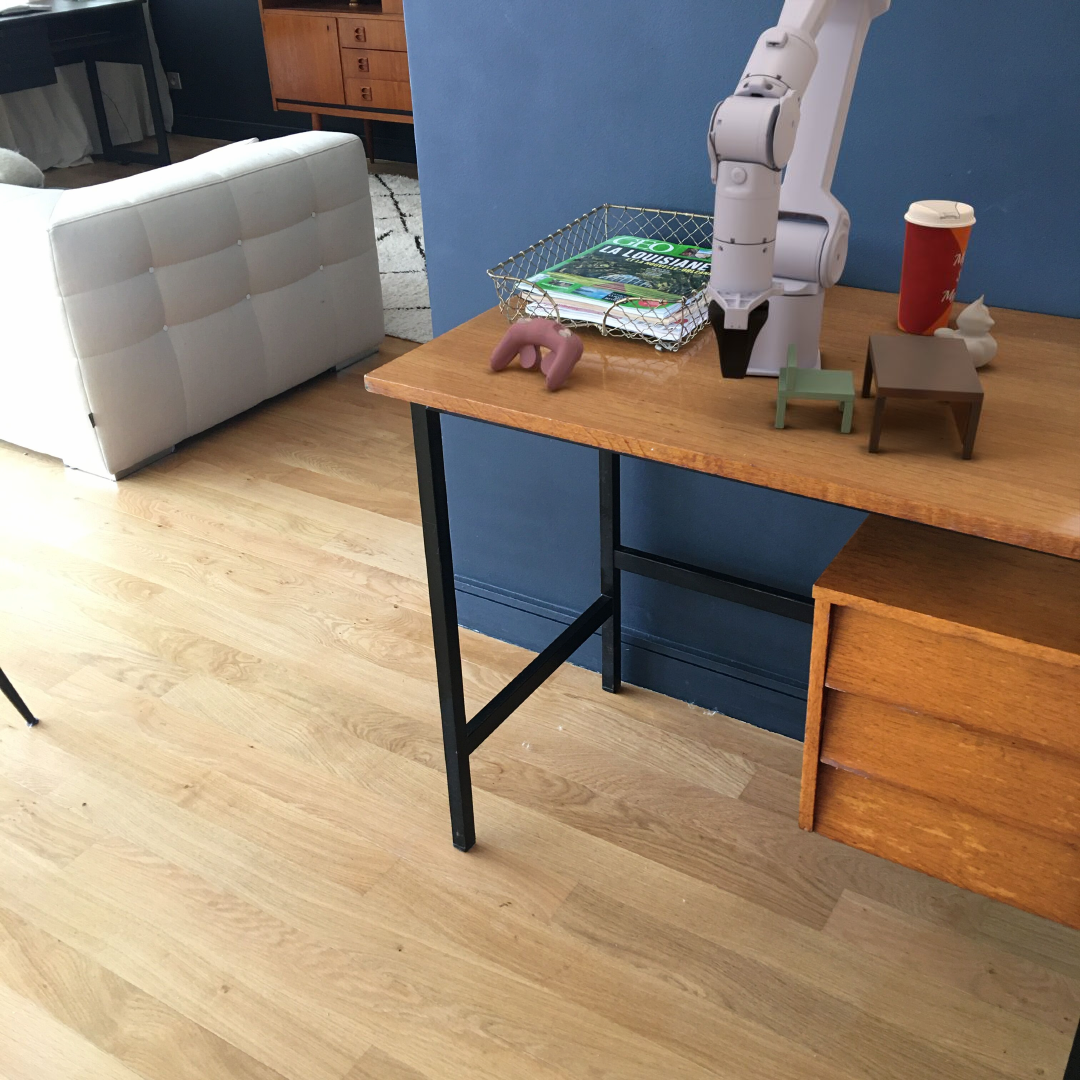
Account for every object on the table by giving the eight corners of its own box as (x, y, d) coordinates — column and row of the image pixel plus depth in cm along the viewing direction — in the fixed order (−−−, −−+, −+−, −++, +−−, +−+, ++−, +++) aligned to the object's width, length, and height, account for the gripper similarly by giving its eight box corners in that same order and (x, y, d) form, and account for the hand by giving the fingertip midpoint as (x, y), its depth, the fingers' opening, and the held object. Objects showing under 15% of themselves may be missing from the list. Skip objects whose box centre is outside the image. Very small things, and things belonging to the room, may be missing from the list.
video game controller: (576, 397, 117) (595, 333, 116) (550, 390, 113) (570, 324, 112) (510, 374, 123) (528, 313, 122) (483, 367, 119) (501, 304, 118)
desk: (868, 452, 101) (878, 386, 98) (860, 394, 113) (869, 333, 109) (971, 459, 99) (984, 392, 96) (952, 399, 111) (964, 338, 108)
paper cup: (964, 337, 126) (987, 214, 119) (897, 338, 127) (916, 215, 119) (944, 315, 133) (964, 198, 126) (880, 316, 133) (897, 198, 126)
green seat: (775, 428, 106) (781, 365, 103) (776, 404, 111) (782, 343, 108) (849, 433, 105) (858, 370, 101) (847, 408, 110) (855, 347, 106)
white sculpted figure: (993, 377, 116) (1008, 303, 112) (927, 370, 118) (940, 298, 114) (993, 359, 120) (1007, 288, 116) (930, 353, 122) (942, 282, 118)
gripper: (788, 260, 93) (773, 408, 100) (789, 218, 106) (776, 352, 112) (705, 257, 95) (696, 403, 101) (715, 215, 107) (707, 348, 114)
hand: (733, 376), depth 107 cm, fingers closed
